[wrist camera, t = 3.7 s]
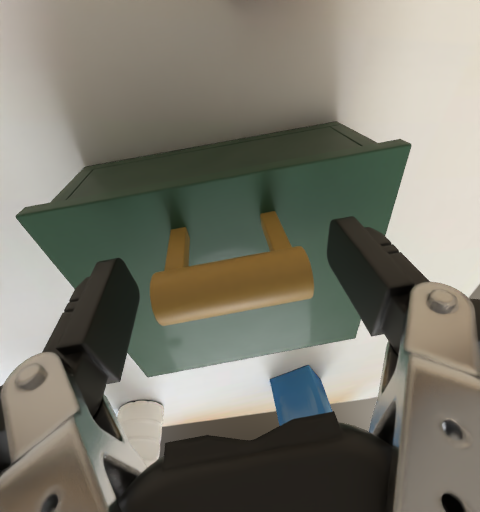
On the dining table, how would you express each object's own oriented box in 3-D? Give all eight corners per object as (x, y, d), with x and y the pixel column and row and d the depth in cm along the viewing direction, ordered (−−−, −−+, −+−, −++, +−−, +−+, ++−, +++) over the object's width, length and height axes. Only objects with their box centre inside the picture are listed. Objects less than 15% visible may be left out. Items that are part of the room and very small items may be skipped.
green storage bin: (84, 166, 16) (34, 218, 11) (337, 120, 16) (396, 152, 11) (158, 304, 24) (149, 366, 20) (321, 274, 25) (350, 329, 20)
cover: (24, 206, 10) (-91, 309, 6) (400, 138, 11) (529, 195, 6) (149, 367, 20) (135, 453, 15) (350, 329, 20) (391, 404, 16)
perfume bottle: (320, 380, 40) (357, 479, 31) (285, 392, 41) (309, 491, 32) (308, 365, 36) (345, 472, 27) (269, 379, 38) (292, 486, 28)
